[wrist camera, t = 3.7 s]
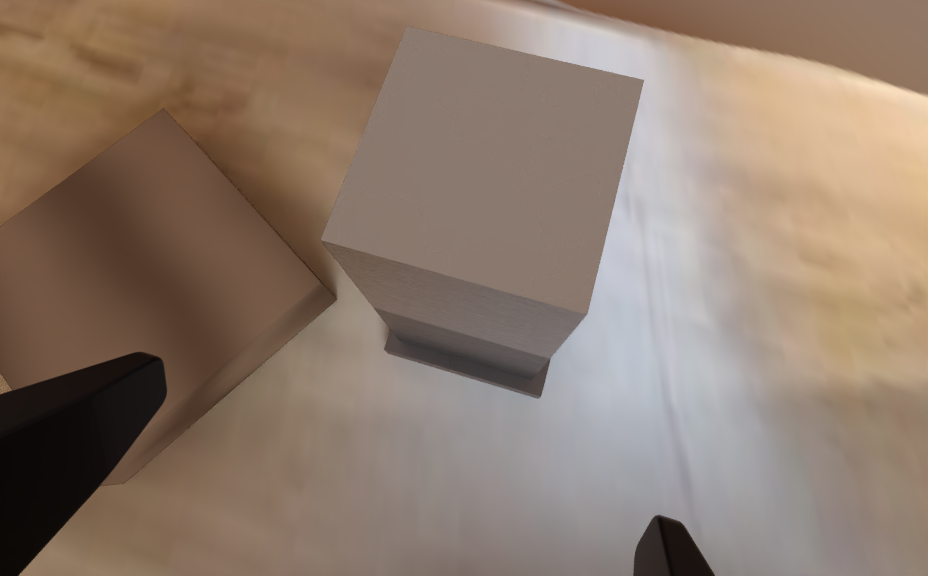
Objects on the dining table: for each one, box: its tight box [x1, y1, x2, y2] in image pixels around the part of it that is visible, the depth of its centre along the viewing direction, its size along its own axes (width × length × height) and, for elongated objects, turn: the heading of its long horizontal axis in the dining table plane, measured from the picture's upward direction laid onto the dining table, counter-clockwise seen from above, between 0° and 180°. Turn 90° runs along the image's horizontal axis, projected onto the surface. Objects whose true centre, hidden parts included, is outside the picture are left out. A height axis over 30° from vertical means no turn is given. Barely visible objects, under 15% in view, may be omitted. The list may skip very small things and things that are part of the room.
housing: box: [320, 26, 644, 398], centre depth 17 cm, size 6×6×12 cm
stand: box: [0, 108, 337, 486], centre depth 22 cm, size 11×11×2 cm
